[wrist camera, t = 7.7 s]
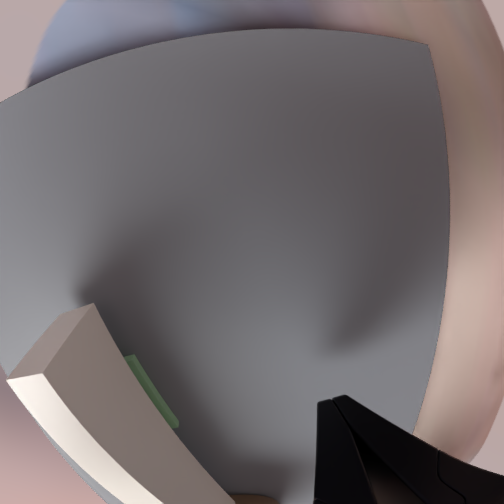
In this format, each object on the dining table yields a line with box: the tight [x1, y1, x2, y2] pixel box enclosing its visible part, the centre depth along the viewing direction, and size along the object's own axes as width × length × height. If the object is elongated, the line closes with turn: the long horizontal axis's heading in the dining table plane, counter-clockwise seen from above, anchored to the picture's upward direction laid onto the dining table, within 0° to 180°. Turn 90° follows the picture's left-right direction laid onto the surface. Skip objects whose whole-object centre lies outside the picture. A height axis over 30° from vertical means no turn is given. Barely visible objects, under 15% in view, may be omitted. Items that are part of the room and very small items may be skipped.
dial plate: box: [0, 29, 450, 504], centre depth 9 cm, size 22×16×2 cm
